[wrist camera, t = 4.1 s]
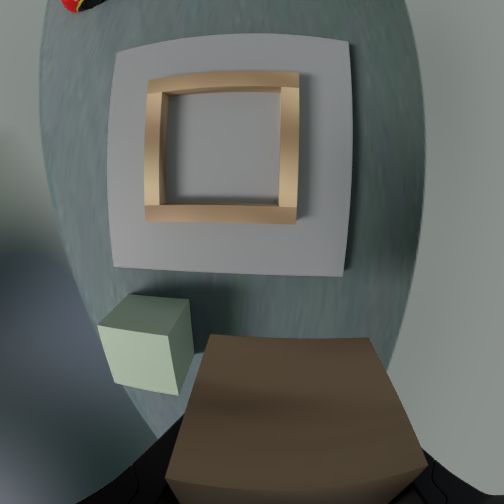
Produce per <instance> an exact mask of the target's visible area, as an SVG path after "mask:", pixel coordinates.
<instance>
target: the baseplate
mask: <svg viewBox="0 0 504 504" xmlns="http://www.w3.org/2000/svg"><path fill="white" fill-rule="evenodd" d="M352 146H353V117H352V85H351V68H350V55H349V44H348V42H346V41H340V40H334V39H327V38H319V37H311V36H300V35H287V34H223V35H210V36H200V37H191V38H183V39H176V40H170V41H164V42H159V43H154V44H149V45H144V46H140V47H136V48H131V49H127V50H124V51H120V52H117V55H116V61H115V67H114V74H113V81H112V90H111V99H110V110H109V124H108V145H107V190H108V212H109V226H110V238H111V248H112V256H113V264H114V267H125V268H141V269H158V270H175V271H194V272H215V273H239V274H265V275H297V276H340V277H343V270H344V262H345V253H346V244H347V234H348V223H349V211H350V197H351V179H352Z"/></svg>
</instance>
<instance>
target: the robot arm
mask: <svg viewBox="0 0 504 504" xmlns="http://www.w3.org/2000/svg"><path fill="white" fill-rule="evenodd" d="M184 414H185V413H184ZM184 414H183V415H182V416H181V417H180V418H179V419H178V420H177V421H176V422H175V423H174V424H173V425H172V426H171V427H170V428H169V429H168V430H167V431H166V432H165V433H164V434H163V435H162V436H161V437H160V438H159V439H158V440H157V441H156V442H155V443H154V444H153V445H152V446H151V447H150V448H149V449H148V450H147V451H146V452H145V453H144V454H143V455H141V456H140V458H138V459H137V460H136V461H135V462H134V463H133V464H132V465H133V466H132V465H131V466H130V467H128V468H127V469H126V470H125V471H124V472H123V473H122V474H120V475H119V476H118V477H117V478H116V479H114V480H113V481H112V482H110V483H109V484H107V485H106V486H104V487H103V488H101V489H100V490H98V491H97V492H95V493H93V494H92V495H90V496H88V497H87V498H85V499H83V500H82V501H80V502H78V503H76V504H180V503H179V501H178V499H177V498H176V496H175V495H174V493H173V491H172V489H171V488H170V486H169V484H168V482H167V481H166V479H165V476H166V473H167V469H168V466H169V463H170V459H171V456H172V453H173V450H174V446H175V443H176V440H177V437H178V433H179V430H180V427H181V424H182V421H183V417H184ZM422 451H423V453H424V456H425V458H426V461H427V463H428V466H427V467H426V468H425V469H424V470H423V471H422V472H421V473H420V474H419V475H418V476H417V477H416V478H415V479H414V480H413V481H412V482H411V483H410V484H409V485H408V486H407V487H406V488H405V489H404V490H403V491H401V492H400V493H399V494H398V495H397V496H396V497H395V498H393V499H392V500H391V501H390V502H389V503H388V504H504V495H488V494H485V493H483V492H481V491H479V490H477V489H476V488H474V487H472V486H471V485H469V484H468V483H466V482H464V481H463V480H461V479H460V478H458V477H457V476H455V475H454V474H452V473H451V472H450V471H448V470H447V469H446V468H445V467H443V466H442V465H441V464H440V463H439V462H437V461H436V460H434V458H432V456H430V455H429V454H428V453H427V452H426V451H425V450H423V449H422Z"/></svg>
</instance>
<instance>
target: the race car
mask: <svg viewBox="0 0 504 504" xmlns="http://www.w3.org/2000/svg"><path fill="white" fill-rule="evenodd" d="M102 2H103V0H62V3H63V4H64V6H65V8H66V9H68V10H69V11H71V12H80V11H84V10H85V8H88V9H91V8H93V7H94V6H96V5H99V4H101V3H102Z"/></svg>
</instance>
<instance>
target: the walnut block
mask: <svg viewBox="0 0 504 504" xmlns="http://www.w3.org/2000/svg"><path fill="white" fill-rule="evenodd" d="M427 466H428V463H427V461H426V458H425V456H424V453H423V451H422V448H421V446H420V444H419V441H418V439H417V437H416V434H415V432H414V430H413V428H412V425H411V423H410V421H409V419H408V417H407V414H406V412H405V410H404V408H403V406H402V404H401V401H400V400H399V397H398V395H397V393H396V391H395V389H394V387H393V385H392V383H391V381H390V379H389V377H388V375H387V373H386V371H385V369H384V367H383V365H382V363H381V361H380V359H379V357H378V355H377V353H376V351H375V349H374V347H373V345H372V343H371V342H370V340H369V338H336V339H298V338H265V337H245V336H230V335H217V334H210V337H209V340H208V343H207V346H206V349H205V352H204V355H203V358H202V361H201V364H200V367H199V370H198V373H197V377H196V380H195V383H194V386H193V389H192V392H191V395H190V398H189V402H188V405H187V408H186V411H185V414H184V417H183V421H182V424H181V427H180V430H179V433H178V437H177V440H176V443H175V446H174V450H173V453H172V456H171V459H170V463H169V466H168V469H167V473H166V476H165V479H166V481H167V482H168V484H169V486H170V488H171V489H172V491H173V493H174V495H175V496H176V498H177V499H178V501H179V503H180V504H388V503H389V502H390V501H391V500H392V499H393V498H395V497H396V496H397V495H398V494H399V493H400V492H401V491H403V490H404V489H405V488H406V487H407V486H408V485H409V484H410V483H411V482H412V481H413V480H414V479H415V478H416V477H417V476H418V475H419V474H420V473H421V472H422V471H423V470H424V469H425V468H426V467H427Z"/></svg>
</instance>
